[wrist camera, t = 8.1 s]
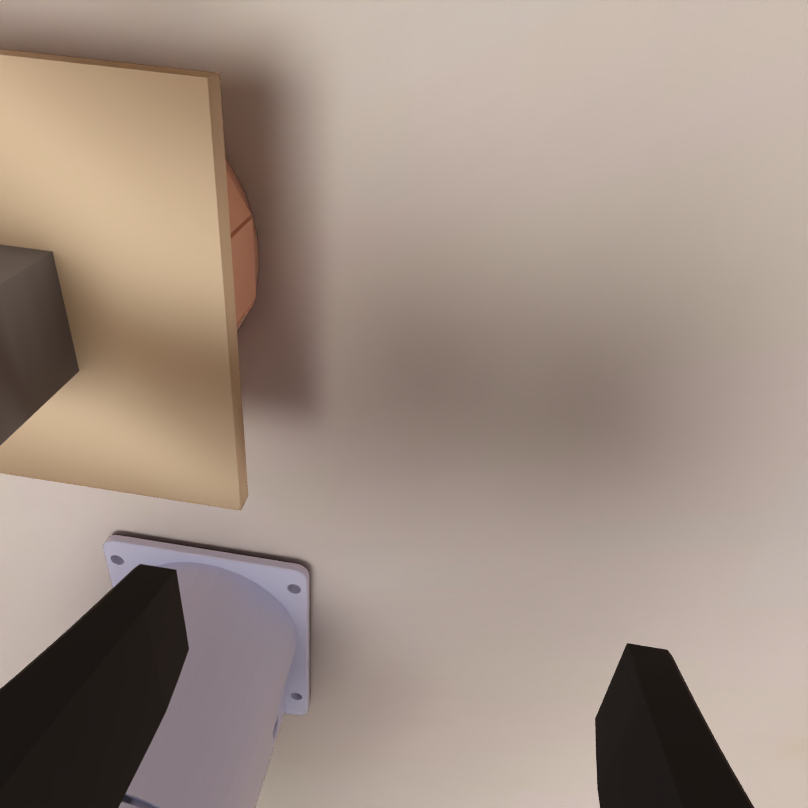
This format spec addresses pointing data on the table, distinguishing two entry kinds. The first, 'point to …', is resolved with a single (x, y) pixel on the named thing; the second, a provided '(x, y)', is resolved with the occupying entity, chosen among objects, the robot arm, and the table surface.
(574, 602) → the table surface
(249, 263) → the bowl
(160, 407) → the lid
